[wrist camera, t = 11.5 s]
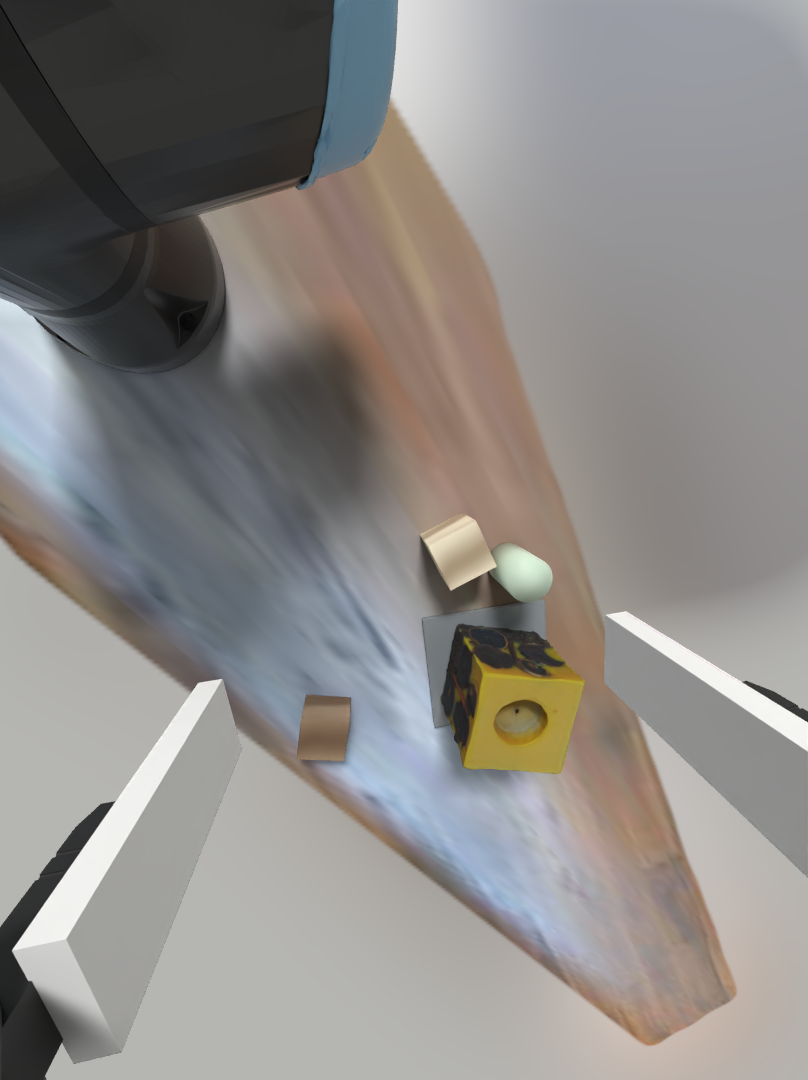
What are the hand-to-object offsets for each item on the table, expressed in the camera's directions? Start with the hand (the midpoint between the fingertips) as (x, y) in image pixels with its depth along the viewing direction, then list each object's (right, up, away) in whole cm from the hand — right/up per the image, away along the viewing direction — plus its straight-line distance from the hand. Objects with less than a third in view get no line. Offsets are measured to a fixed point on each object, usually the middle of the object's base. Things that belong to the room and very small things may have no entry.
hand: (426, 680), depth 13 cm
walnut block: (-10, -15, +30) cm, 35 cm away
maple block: (+4, +4, +27) cm, 28 cm away
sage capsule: (+10, +2, +28) cm, 30 cm away
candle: (+9, -10, +31) cm, 33 cm away
